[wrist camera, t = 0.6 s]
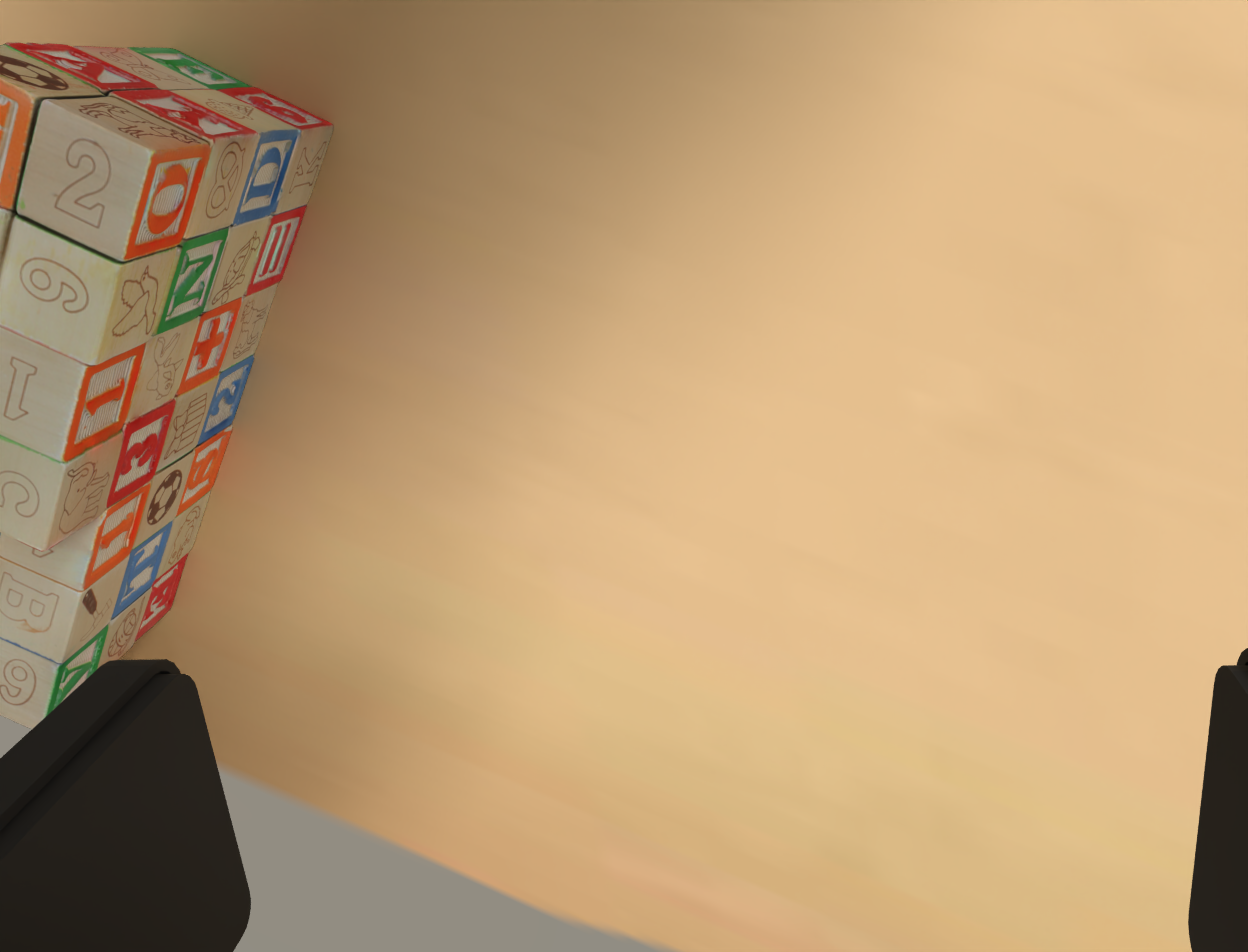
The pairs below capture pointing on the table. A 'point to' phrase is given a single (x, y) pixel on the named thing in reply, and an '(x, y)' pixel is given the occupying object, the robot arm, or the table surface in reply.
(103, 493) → the stack of blocks
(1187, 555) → the table surface
